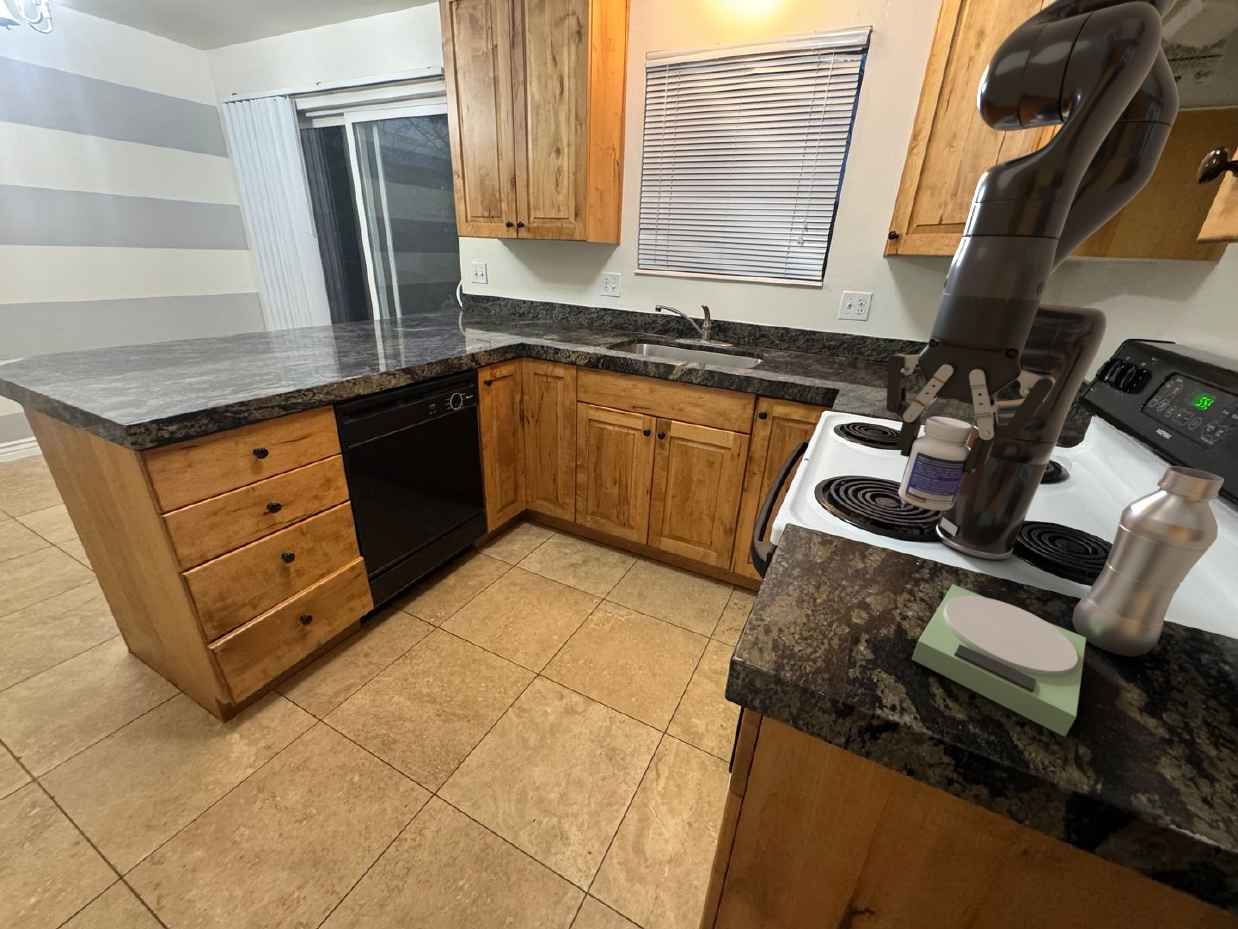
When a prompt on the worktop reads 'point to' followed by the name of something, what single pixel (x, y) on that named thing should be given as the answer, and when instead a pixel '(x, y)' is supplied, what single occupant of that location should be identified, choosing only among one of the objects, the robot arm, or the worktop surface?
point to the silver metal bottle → (1149, 562)
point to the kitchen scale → (1006, 657)
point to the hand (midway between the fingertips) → (936, 462)
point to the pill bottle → (936, 464)
